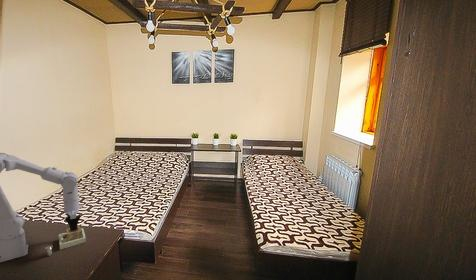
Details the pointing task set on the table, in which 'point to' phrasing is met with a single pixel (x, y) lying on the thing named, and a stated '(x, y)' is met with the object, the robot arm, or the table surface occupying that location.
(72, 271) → the table surface
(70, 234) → the tan open box
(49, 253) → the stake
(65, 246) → the tray
